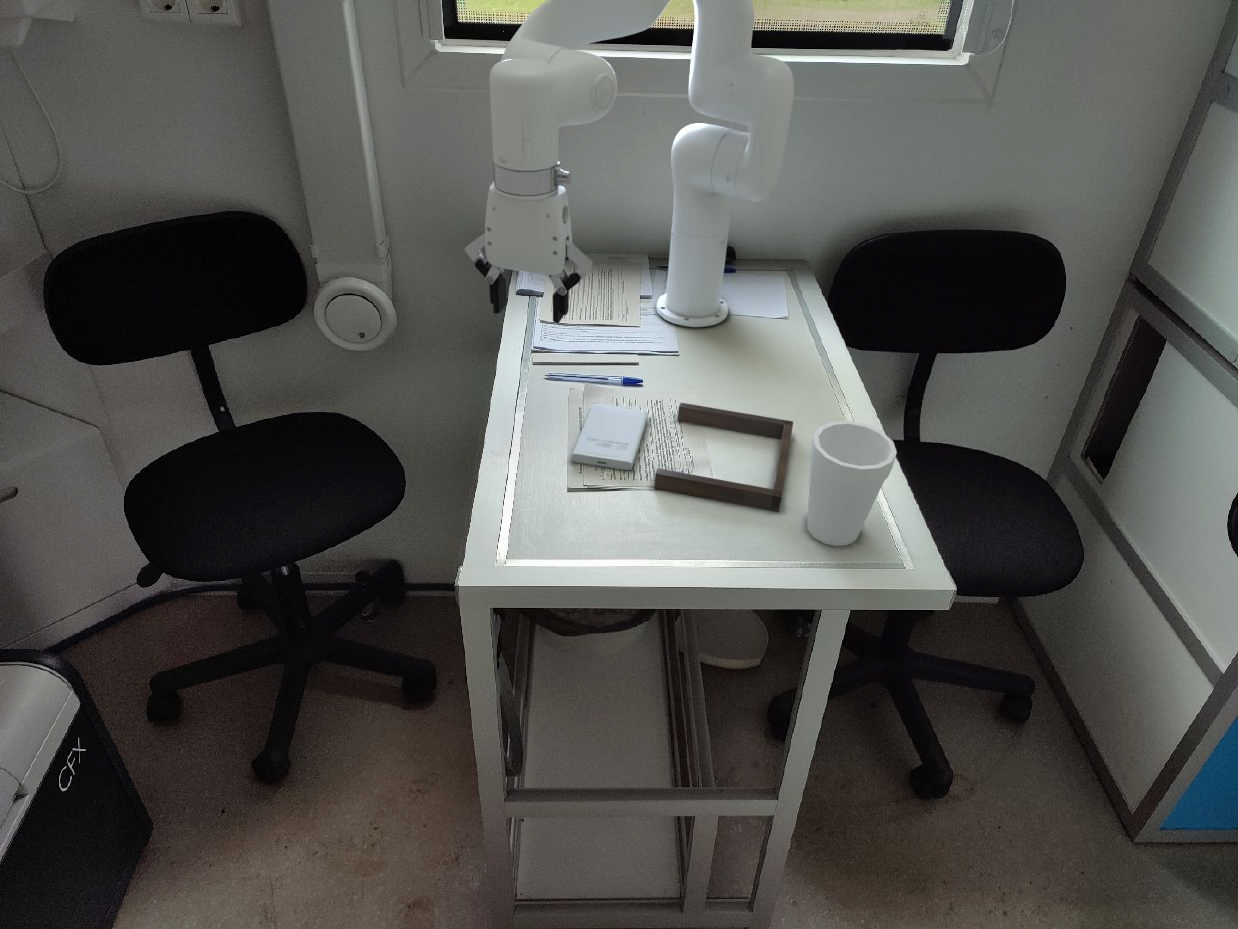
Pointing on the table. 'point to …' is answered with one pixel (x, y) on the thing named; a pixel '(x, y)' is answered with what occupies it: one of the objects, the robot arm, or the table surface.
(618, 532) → the table surface
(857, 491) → the foam cup
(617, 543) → the table surface
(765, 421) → the dock
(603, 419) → the hard drive
